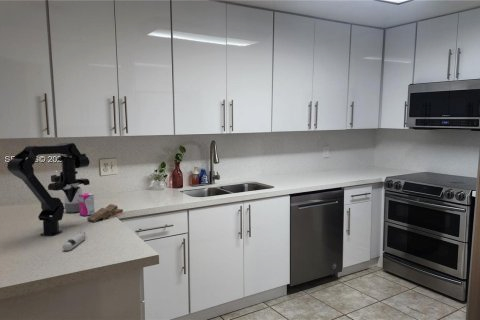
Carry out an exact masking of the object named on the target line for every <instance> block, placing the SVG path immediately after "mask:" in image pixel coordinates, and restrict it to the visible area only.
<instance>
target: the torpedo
mask: <svg viewBox="0 0 480 320" xmlns="http://www.w3.org/2000/svg"><path fill="white" fill-rule="evenodd" d="M81 226H82V225H80V226H79V227H80V230H82V229H81V228H82V227H81ZM87 235H88V234H87V233H86V231H83V232H79V233H77V234H75V235H74V236H72V237H71V238H69V239H68V240H67V242H64V243H63V244H62V249H63V251H66V252H68V251H71V250H73V249H74V248H76V247H78V245H79V244H81V243H82V242H83V241H84V240H85V238H86V237H87Z"/></svg>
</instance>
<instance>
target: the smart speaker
mask: <svg viewBox="0 0 480 320" xmlns="http://www.w3.org/2000/svg"><path fill="white" fill-rule="evenodd" d="M79 187H80V186H79ZM80 194H83V193H82V187H80V188H79V189H78V191H77V192H76V194H75V197H74V199H73V201H72V202H69V201H68V199H67V196H66V194H65V193H64V208H65V209H64V211H65V212H67V213H68V214H76V213H80V209H79V195H80Z"/></svg>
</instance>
